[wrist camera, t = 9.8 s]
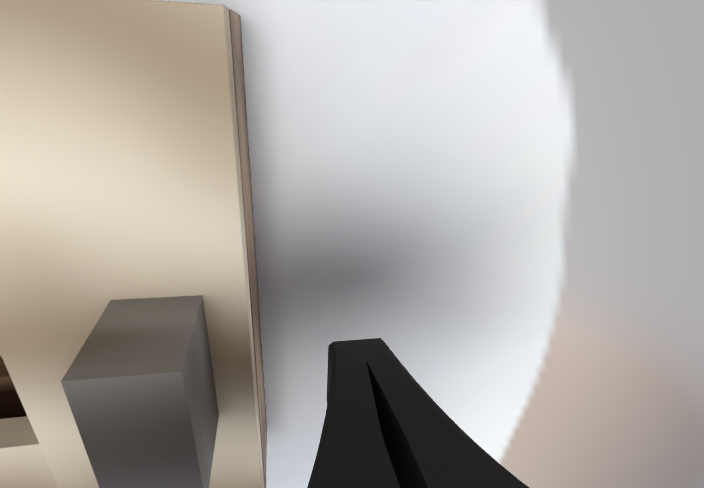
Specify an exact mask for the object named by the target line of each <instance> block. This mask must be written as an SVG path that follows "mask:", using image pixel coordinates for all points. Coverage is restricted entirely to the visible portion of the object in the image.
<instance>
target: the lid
mask: <svg viewBox="0 0 704 488" xmlns="http://www.w3.org/2000/svg"><path fill="white" fill-rule="evenodd" d="M0 354H1V356H2V359H3V361H4V363H5V366H6V368H7V370H8V373H9V375H10V377H11V379H12V382H13V384H14V386H15V389H16V391H17V393H18V396H19V398H20V400H21V403H22V405H23V407H24V409H25V412H26V414H27V416H25V417H15V418H5V419H0V488H264V475H263V462H262V448H261V435H260V422H259V408H258V395H257V382H256V368H255V355H254V342H253V328H252V315H251V302H250V288H249V275H248V262H247V248H246V235H245V222H244V208H243V195H242V182H241V168H240V155H239V142H238V128H237V115H236V102H235V88H234V75H233V62H232V48H231V35H230V22H229V8H227V7H225V6H224V5H215V4H200V3H184V2H169V1H154V0H0Z"/></svg>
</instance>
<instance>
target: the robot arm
mask: <svg viewBox="0 0 704 488" xmlns="http://www.w3.org/2000/svg"><path fill="white" fill-rule="evenodd" d="M307 488H529V487H528V486H526V485H525V484H523V483H522V482H521V481H519V480H518V479H517V478H516V477H515V476H513V475H512V474H511V473H510V472H509V471H507V470H506V469H505V468H504V467H503V466H501V465H500V464H499V463H498V462H497V461H496V460H494V459H493V458H492V457H491V456H490V455H489V454H488V453H486V452H485V451H484V450H483V449H482V448H481V447H480V446H479V445H477V444H476V443H475V442H474V441H473V440H472V439H471V438H470V437H469V436H468V435H467V434H466V433H465V432H464V431H463V430H462V429H461V428H460V427H459V426H458V425H457V424H456V423H455V422H454V421H453V420H451V419H450V418H449V417H448V416H447V414H446V413H445V412H444V411H443V410H442V409H441V408H440V407H439V406H438V405H437V404H436V403H435V402H434V401H433V400H432V398H431V397H430V396H429V395H428V394H427V393H426V392H425V391H424V390H423V388H422V387H421V386H420V385H419V384H418V383H417V382H416V381H415V379H414V378H413V377H412V376H411V375H410V373H409V372H408V371H407V370H406V369H405V367H404V366H403V365H402V364H401V363H400V361H399V360H398V359H397V358H396V356H395V355H394V354H393V352H392V351H391V350H390V349H389V347H388V346H387V345H386V343H385V342H384V341H383V340H382V339H381V338H376V339H363V340H350V341H337V342H332V343H331V344H330V345H329V348H328V379H327V410H326V416H325V420H324V425H323V430H322V434H321V439H320V444H319V448H318V452H317V456H316V459H315V463H314V467H313V470H312V474H311V477H310V481H309V484H308V487H307Z"/></svg>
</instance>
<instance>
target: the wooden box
mask: <svg viewBox="0 0 704 488" xmlns="http://www.w3.org/2000/svg"><path fill="white" fill-rule="evenodd" d="M229 22H230V35H231V48H232V62H233V75H234V88H235V102H236V115H237V128H238V142H239V155H240V168H241V182H242V195H243V208H244V222H245V235H246V248H247V262H248V275H249V288H250V302H251V315H252V328H253V342H254V355H255V368H256V382H257V395H258V408H259V422H260V435H261V448H262V462H263V475H264V488H266V445H267V426H266V410H265V395H264V379H263V364H262V348H261V333H260V317H259V302H258V286H257V271H256V255H255V240H254V224H253V209H252V193H251V178H250V162H249V147H248V131H247V116H246V100H245V85H244V69H243V54H242V38H241V23H240V15H238V14H237V13H235V12H233V11H232V10H230V9H229ZM25 416H27V414H26V412H25V409H24V407H23V405H22V403H21V400H20V398H19V396H18V393H17V391H16V389H15V386H14V384H13V382H12V379H11V377H10V375H9V373H8V370H7V368H6V366H5V363H4V361H3V359H2V356H1V354H0V419H5V418H15V417H25Z"/></svg>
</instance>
